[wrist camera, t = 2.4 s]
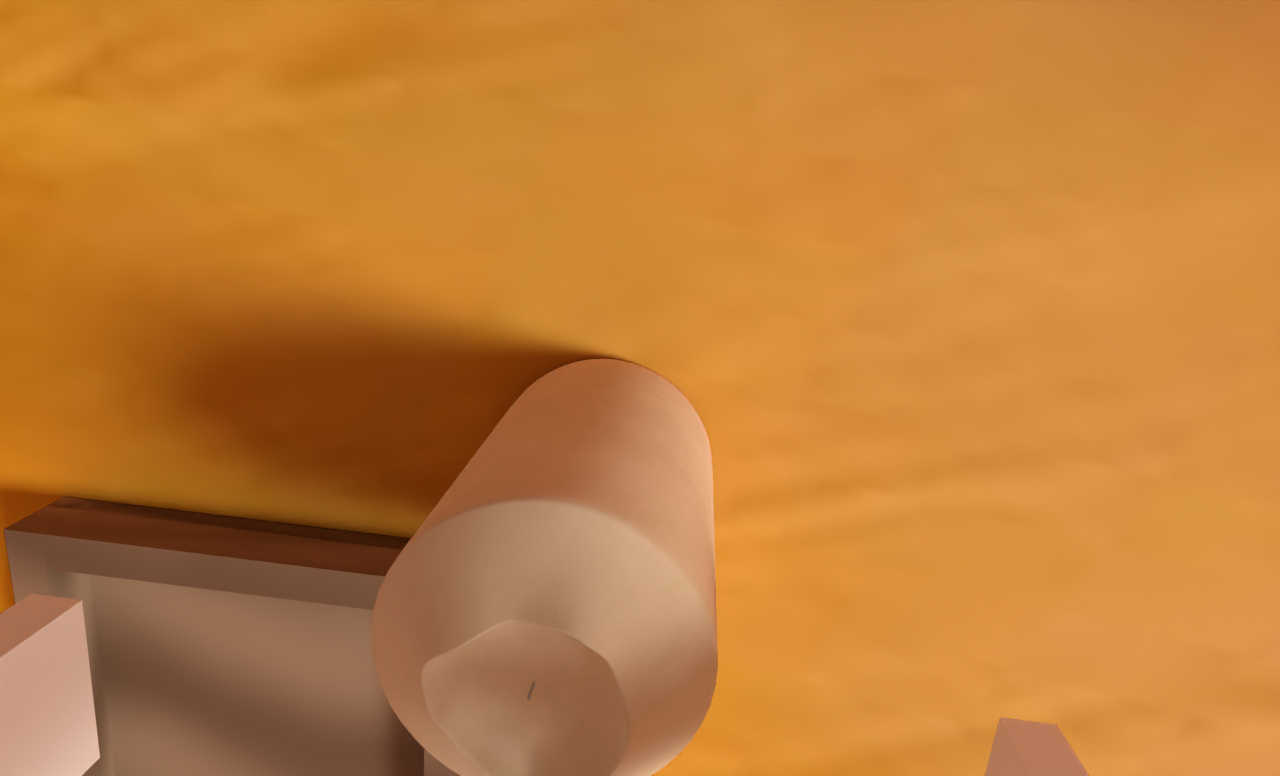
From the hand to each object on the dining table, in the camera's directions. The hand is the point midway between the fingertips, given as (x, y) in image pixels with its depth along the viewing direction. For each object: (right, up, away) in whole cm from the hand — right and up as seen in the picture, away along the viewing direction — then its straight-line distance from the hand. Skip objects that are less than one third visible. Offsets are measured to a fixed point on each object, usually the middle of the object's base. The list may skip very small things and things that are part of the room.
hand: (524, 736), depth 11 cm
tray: (-9, -4, +12) cm, 16 cm away
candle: (+1, +3, +9) cm, 10 cm away
